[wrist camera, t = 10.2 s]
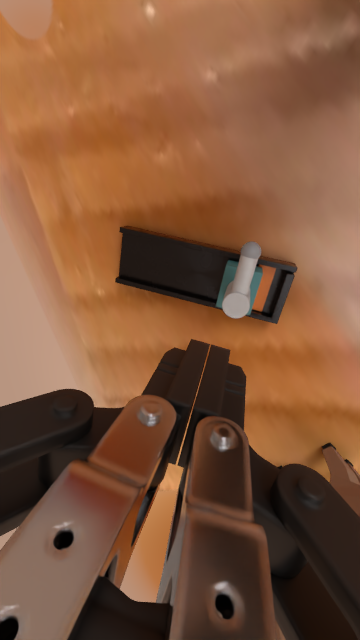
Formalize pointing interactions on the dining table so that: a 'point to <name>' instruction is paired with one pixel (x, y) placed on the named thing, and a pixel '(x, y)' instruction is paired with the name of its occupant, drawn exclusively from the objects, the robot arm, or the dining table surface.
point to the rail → (196, 271)
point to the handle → (241, 282)
